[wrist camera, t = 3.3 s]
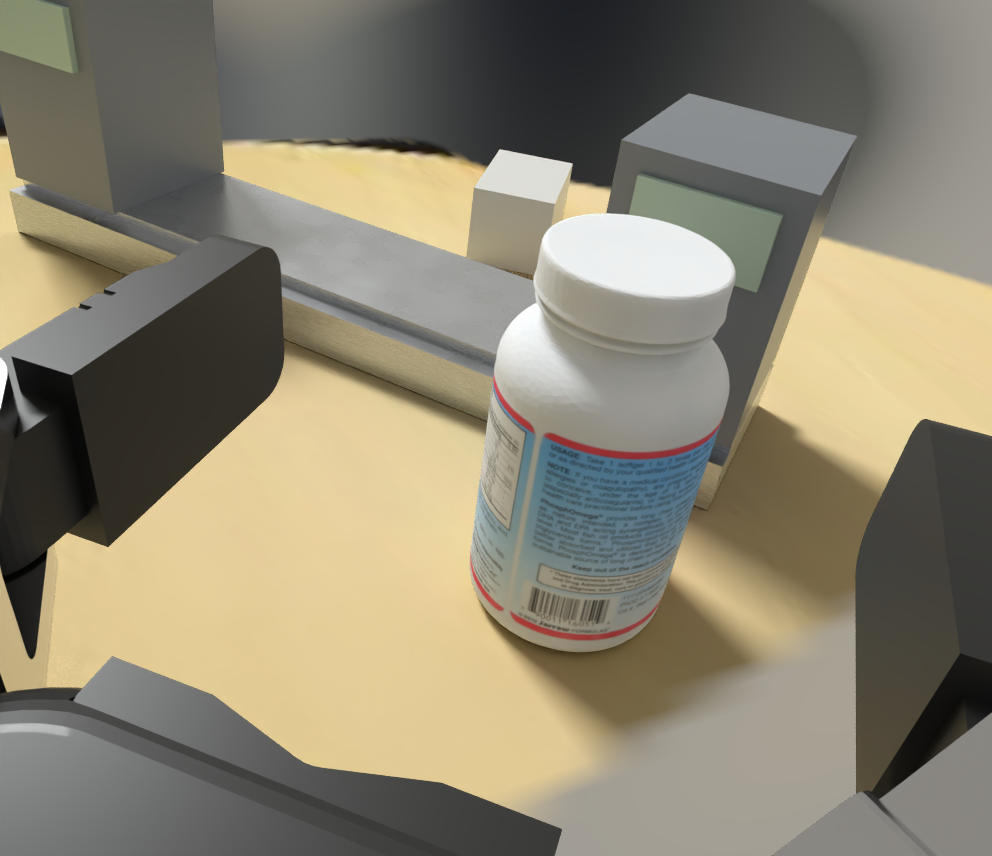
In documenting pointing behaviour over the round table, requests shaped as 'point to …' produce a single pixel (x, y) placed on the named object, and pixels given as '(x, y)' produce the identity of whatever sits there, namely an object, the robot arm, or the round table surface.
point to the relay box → (516, 210)
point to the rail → (331, 284)
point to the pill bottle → (600, 429)
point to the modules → (199, 155)
